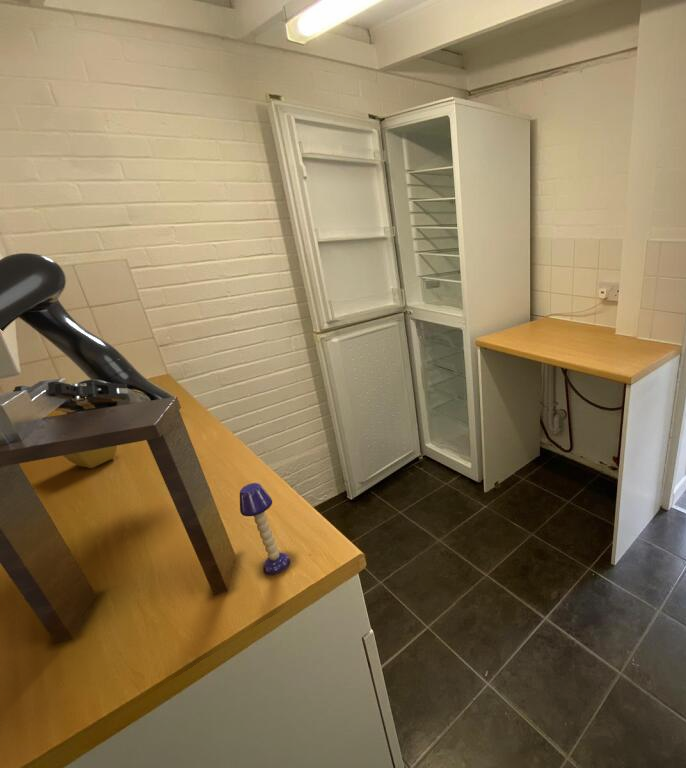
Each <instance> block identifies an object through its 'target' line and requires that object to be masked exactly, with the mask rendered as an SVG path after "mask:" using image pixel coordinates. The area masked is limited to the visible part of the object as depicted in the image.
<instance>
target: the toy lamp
mask: <svg viewBox="0 0 686 768" xmlns="http://www.w3.org/2000/svg"><path fill="white" fill-rule="evenodd" d="M272 505H273V499H272V497H271V495H269V493H268V492H267V491H266V489H265V488H264V487H263V486H262V485H261V484H260V483H258V482H252V483H248V484H246V485H244V486H243V487H242V488H241V489H240V491H239V513H240V514H241V515H242V516H244V517H253V518H254V522H255V524H256V528H257V531H258V532H259V537H260V538H261V540H262V544H263V546H265V552H266V553H267V556H268V557H267V558H266V559H265V561H264V563H263V572H264V574H266V575H268V576H274V575H277V574H280V573H282V572H284V571H285V570H286V569H287V568H288V567H289V566H290V563H291V558H290V557H289V554H287V553H284V552H280V551H279V549H278V545H277V543H276V542H275V536H273V533H272V530H271V528H270V523H269V522H268V521H267V520H268V517H267V515H266V514H265V512H266V511H267V510H269V509H270V508H271V506H272Z"/></svg>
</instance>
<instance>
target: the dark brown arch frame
mask: <svg viewBox="0 0 686 768" xmlns="http://www.w3.org/2000/svg"><path fill="white" fill-rule="evenodd" d="M180 409H181V410H182V406H181V403H180V400H179V398H178V396H175V397H171V398H164V399H158V400H152V401H145V402H139V403H133V404H126V405H120V406H114V407H107V408H101V409H94V410H88V411H82V412H75V413H69V414H67V413H63V414H55V415H51V416H45V417H44V418H43V419H42V420H43V422H44V424H42V425H41V426H40V427H39V428H37V429H36V430H35V431H33V432H32V433H31V434H29V435H28V436H27V437H26V438H24V439H23V440H21V441H15V442H11V443H9V444H6V445H0V565H1V566H2V568H3V569H4V571H5V572H6V574H7V575H8V576H9V578H10V579H11V581H12V582H13V584H14V586H16V589H18V591H19V592H20V594H21V595H22V597H23V598H24V600H25V601H26V603H27V604H28V605H29V607H30V608H31V610H32V611H33V612H34V614H35V616H36V617H37V619H38V620H39V621H40V623H41V624H42V625H43V627H44V629H45V630H46V631H47V632H48V635H49V636H50V638H51V639H52V641H54V643H55V644H59V643H62V642H64V641H68V640H71V639H74V637H75V636H76V634H77V632H78V630H79V629H80V627H81V625H82V624H83V622H84V620H85V618H86V616H87V615H88V613H89V612H90V610H91V608H92V606H93V604H94V602H95V601H96V600H97V597H98V595H97V593H96V591H95V589H94V588H93V587H92V585H91V583H90V582H89V579H88V577H86V574H85V572H84V571H83V570H82V568H81V567H80V564H79V563H78V561H77V559H76V558H75V556H74V554H73V553H72V551H71V549H70V547H69V545H68V544H67V543H66V541H65V539H64V537H63V536H62V534H61V533H60V530H59V529H58V528H57V526H56V524H55V522H54V520H53V519H52V517H51V516H50V514H49V512H48V510H47V509H46V507H45V505H44V504H43V502H42V500H41V499H40V496H39V495H38V493H37V492H36V490H35V489H34V487H33V485H32V483H31V482H30V479H29V478H28V476H27V474H26V473H25V472H24V470H23V468H22V466H21V464H24V463H30V462H35V461H41V460H46V459H52V458H56V457H64V456H63V455H68V454H74V453H79V452H85V451H90V450H95V449H101V448H106V447H112V446H117V447H118V446H122V445H123V446H124V445H128V444H133V443H138V442H139V443H140V442H143V441H146V443H147V445H148V447H149V449H150V452H151V454H152V456H153V458H154V461H155V463H156V465H157V468H158V470H159V472H160V474H161V477H162V479H163V481H164V484H165V485H166V488H167V490H168V493H169V495H170V497H171V500H172V502H173V504H174V508H175V510H176V511H177V513H178V516H179V518H180V522H181V523H182V525H183V527H184V530H185V532H186V534H187V537H188V539H189V541H190V544H191V546H192V548H193V550H194V553H195V555H196V557H197V559H198V561H199V564H200V566H201V569H202V571H203V573H204V576H205V578H206V580H207V583H208V584H209V587H210V589H211V592H212V594H213V596H217V595H219V594H224V593H227V592H228V591H229V588H230V584H231V581H232V576H233V572H234V567H235V564H236V559H237V556H236V553H235V551H234V548H233V545H232V543H231V541H230V538H229V534H228V533H227V530H226V527H225V524H224V522H223V519H222V517H221V514H220V512H219V509H218V507H217V504H216V501H215V499H214V496H213V494H212V491H211V489H210V486H209V484H208V480H207V479H206V476H205V473H204V471H203V468H202V465H201V463H200V460H199V458H198V455H197V452H196V450H195V447H194V445H193V443H192V440H191V437H190V434H189V432H188V429H187V426H186V424H185V422H184V418H183V416H182V413H181V410H180ZM179 410H180V411H179Z"/></svg>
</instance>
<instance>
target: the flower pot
mask: <svg viewBox="0 0 686 768" xmlns="http://www.w3.org/2000/svg"><path fill="white" fill-rule="evenodd" d="M117 449H118V445H117V446H112V447H106V448H101V449H95V450H90V451H85V452H79V453H74V454H68V455H63V456H62V457H64V458H65V459H66V460H68V461H69V462H71V463H72V464H74V465H77V466H79V467H83V468H87V469H94V468H96V467H97V466H100V465H102V464H104V463H106V462H108V461H111V460H112V459H114V457H115V456H116V453H117Z"/></svg>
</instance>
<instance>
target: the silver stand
mask: <svg viewBox="0 0 686 768" xmlns="http://www.w3.org/2000/svg"><path fill="white" fill-rule="evenodd" d="M53 381H57V382H62V383H66V384H69V383H68V381H67V380H66V378H65V377H63V378H55V379H47V380H40V381H38V382H37V383H36V382H35V384H33V385H31V386H29V387H30V388H28V389H27V390H23V391H16V392H13V391H9V392H3V393H0V445H6V444H9V443H11V442H15V441H21V440H23V439H24V438H26V437H27V436H28V435H29V434H31V433H32V432H33V431H35V430H36V429H37V428H39V427H40V426H41V425H42V424H44V422H43V420H42V419H43V418H44V417H48V416H49V415H50V414H51V413H52V412H54V411H56V410H55V409H56V408H57V407H59V406H60V405H61V404H63V403H64V402H65V401H67V400H68V399H63V398H57V397H52V396H50V394H49V388H48V383H49V382H53Z"/></svg>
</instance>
